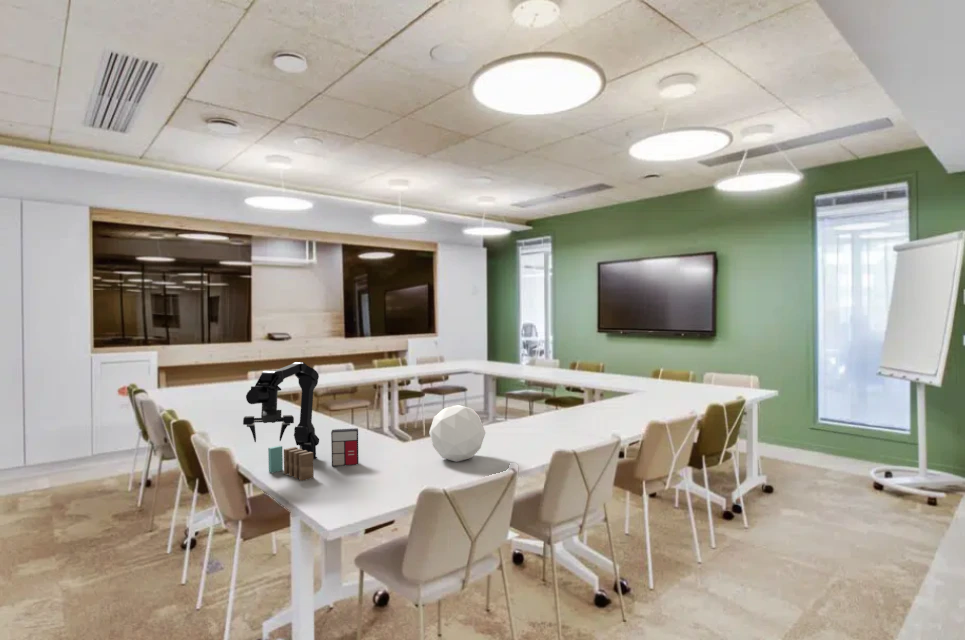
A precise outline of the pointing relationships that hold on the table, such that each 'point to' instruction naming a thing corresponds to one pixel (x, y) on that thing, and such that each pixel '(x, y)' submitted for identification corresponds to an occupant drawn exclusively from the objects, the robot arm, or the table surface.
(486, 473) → the table surface
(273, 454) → the domino
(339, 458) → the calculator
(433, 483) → the table surface
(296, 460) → the domino
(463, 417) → the geometric sculpture
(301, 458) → the domino
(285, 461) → the domino
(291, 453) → the domino
